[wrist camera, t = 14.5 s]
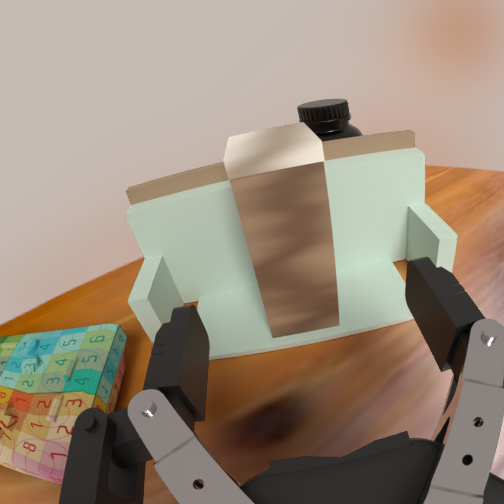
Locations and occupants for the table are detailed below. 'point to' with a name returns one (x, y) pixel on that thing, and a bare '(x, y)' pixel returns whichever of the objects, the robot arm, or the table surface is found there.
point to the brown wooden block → (286, 225)
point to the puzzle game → (54, 392)
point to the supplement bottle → (328, 119)
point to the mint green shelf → (239, 260)
